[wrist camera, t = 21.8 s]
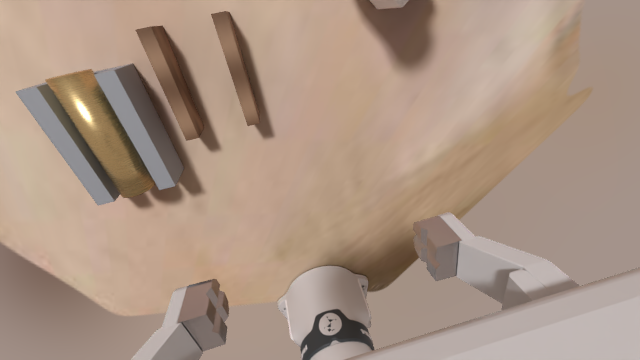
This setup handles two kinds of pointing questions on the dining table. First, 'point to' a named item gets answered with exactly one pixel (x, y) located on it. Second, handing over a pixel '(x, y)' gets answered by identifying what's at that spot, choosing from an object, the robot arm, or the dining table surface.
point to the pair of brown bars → (175, 82)
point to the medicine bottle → (388, 3)
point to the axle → (102, 131)
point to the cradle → (135, 118)
